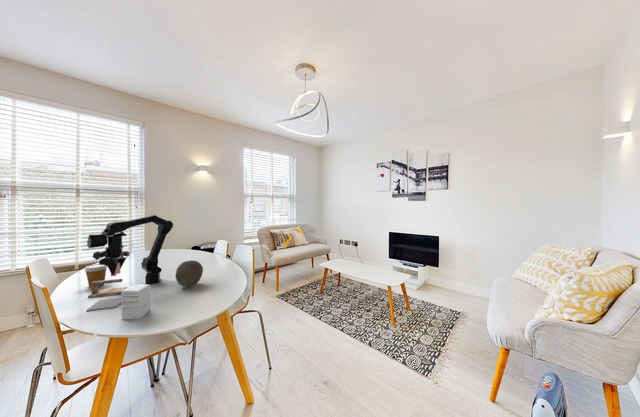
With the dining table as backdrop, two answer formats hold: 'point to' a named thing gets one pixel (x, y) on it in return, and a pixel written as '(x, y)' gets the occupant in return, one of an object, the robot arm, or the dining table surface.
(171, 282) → the dining table surface
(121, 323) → the dining table surface
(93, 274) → the disposable coffee cup
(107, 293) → the stand
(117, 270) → the u-shaped block
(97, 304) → the coaster
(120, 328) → the dining table surface
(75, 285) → the dining table surface
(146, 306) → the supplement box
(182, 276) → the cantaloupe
